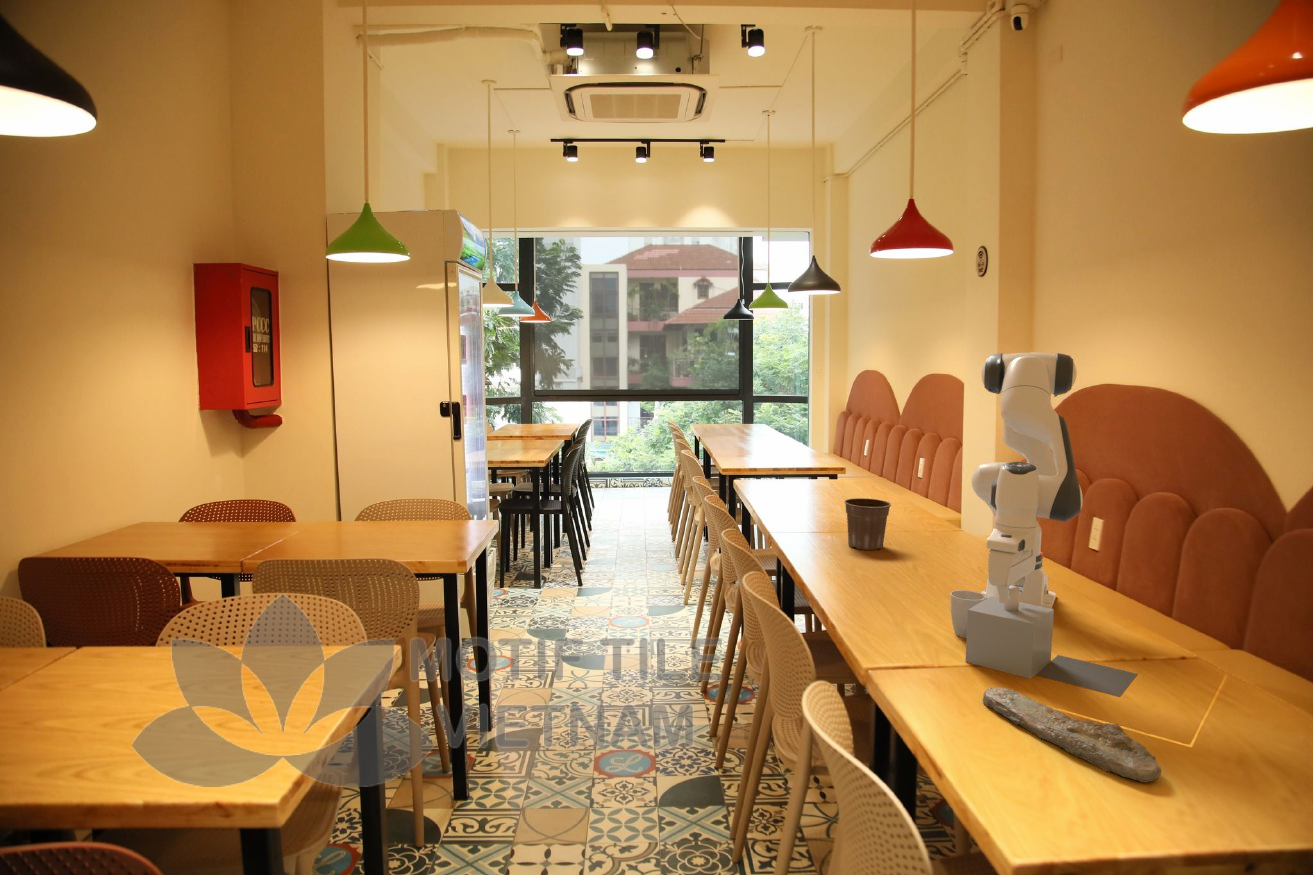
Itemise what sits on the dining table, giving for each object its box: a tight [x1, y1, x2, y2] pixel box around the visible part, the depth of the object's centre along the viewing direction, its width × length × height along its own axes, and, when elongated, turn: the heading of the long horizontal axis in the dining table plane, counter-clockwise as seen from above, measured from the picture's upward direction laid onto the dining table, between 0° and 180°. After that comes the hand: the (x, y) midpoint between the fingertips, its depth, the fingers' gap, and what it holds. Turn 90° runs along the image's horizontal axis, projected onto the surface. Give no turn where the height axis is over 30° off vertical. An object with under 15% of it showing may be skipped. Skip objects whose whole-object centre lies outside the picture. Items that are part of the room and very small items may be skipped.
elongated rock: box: [982, 686, 1162, 783], centre depth 144 cm, size 35×5×10 cm
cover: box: [965, 586, 1055, 680], centre depth 178 cm, size 14×14×17 cm
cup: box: [949, 589, 987, 639], centre depth 197 cm, size 8×8×10 cm
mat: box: [1035, 654, 1139, 698], centre depth 172 cm, size 16×16×1 cm
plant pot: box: [844, 497, 892, 551], centre depth 288 cm, size 16×16×16 cm
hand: (1011, 598), depth 178 cm, fingers open, 8 cm apart
